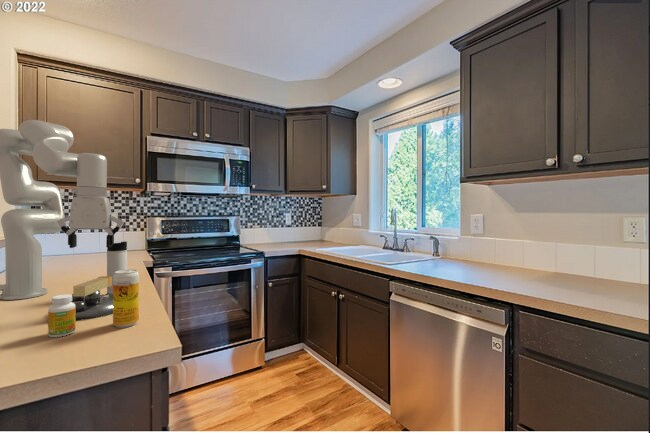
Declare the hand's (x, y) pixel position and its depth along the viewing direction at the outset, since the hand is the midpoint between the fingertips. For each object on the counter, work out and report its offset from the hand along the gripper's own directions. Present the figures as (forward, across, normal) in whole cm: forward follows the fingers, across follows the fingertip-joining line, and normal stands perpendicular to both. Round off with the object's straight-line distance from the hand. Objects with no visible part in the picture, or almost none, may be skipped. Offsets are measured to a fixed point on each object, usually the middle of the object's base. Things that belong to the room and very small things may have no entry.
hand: (91, 247), depth 98 cm
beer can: (+20, +14, -17) cm, 30 cm away
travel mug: (+20, +3, +17) cm, 27 cm away
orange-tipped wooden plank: (+18, +1, 0) cm, 18 cm away
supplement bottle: (+20, 0, -20) cm, 28 cm away
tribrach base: (+20, +1, 0) cm, 20 cm away
